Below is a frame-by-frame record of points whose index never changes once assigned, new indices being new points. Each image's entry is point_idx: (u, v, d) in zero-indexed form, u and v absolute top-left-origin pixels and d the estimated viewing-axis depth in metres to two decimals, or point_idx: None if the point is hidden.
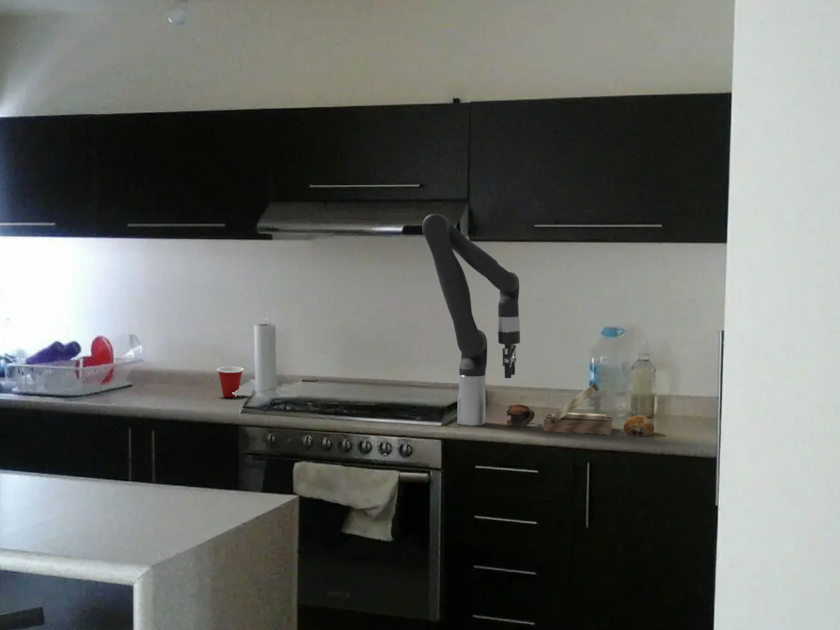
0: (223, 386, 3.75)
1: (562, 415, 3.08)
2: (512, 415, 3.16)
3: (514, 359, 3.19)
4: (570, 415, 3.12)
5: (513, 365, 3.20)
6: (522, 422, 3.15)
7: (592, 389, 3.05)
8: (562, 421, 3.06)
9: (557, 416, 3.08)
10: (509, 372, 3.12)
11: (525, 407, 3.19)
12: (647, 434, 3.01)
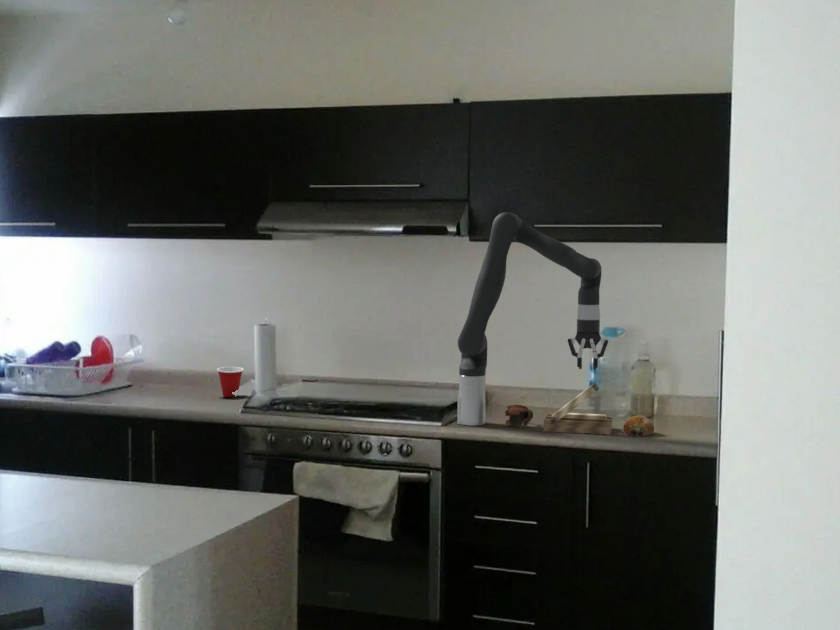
0: (223, 386, 3.75)
1: (562, 415, 3.08)
2: (511, 415, 3.16)
3: None
4: (570, 415, 3.12)
5: None
6: (521, 422, 3.15)
7: (592, 389, 3.05)
8: (562, 421, 3.06)
9: (557, 416, 3.08)
10: None
11: (523, 407, 3.18)
12: (647, 434, 3.01)
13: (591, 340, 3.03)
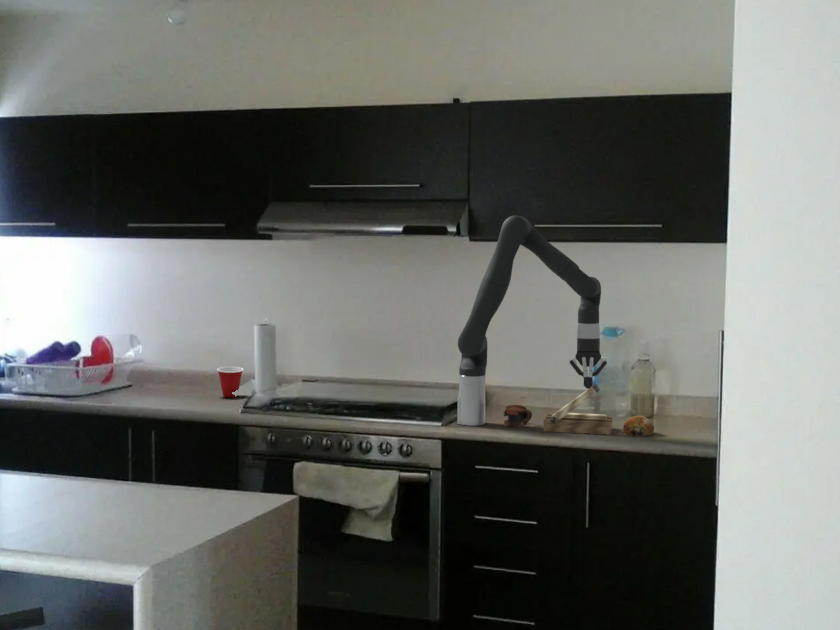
0: (223, 386, 3.75)
1: (562, 415, 3.08)
2: (509, 415, 3.16)
3: None
4: (570, 415, 3.12)
5: None
6: (519, 422, 3.15)
7: (592, 390, 3.05)
8: (562, 421, 3.06)
9: (557, 416, 3.08)
10: None
11: (522, 407, 3.18)
12: (647, 434, 3.01)
13: (591, 359, 3.04)
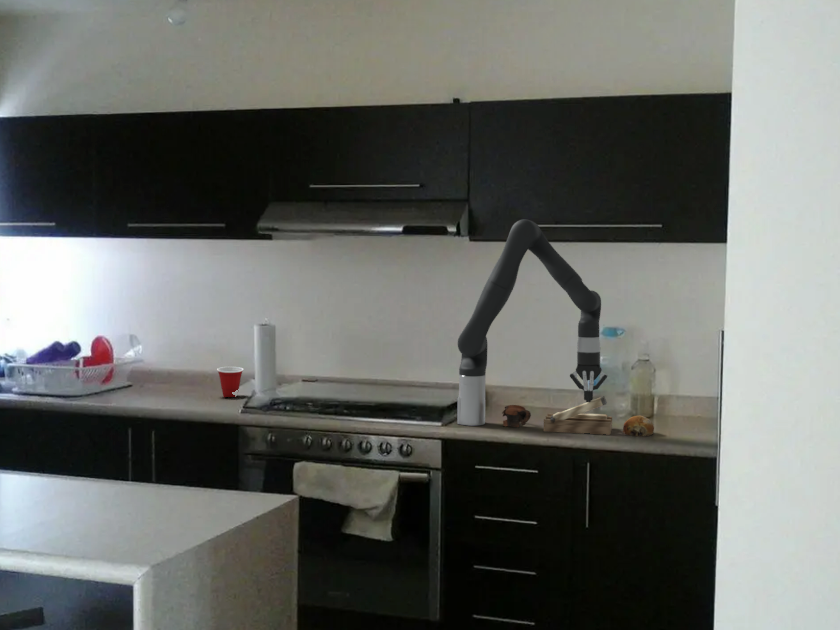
0: (223, 386, 3.75)
1: (563, 418, 3.08)
2: (508, 415, 3.16)
3: (587, 382, 3.08)
4: None
5: None
6: (518, 422, 3.15)
7: (599, 402, 3.04)
8: (562, 421, 3.06)
9: (558, 417, 3.08)
10: None
11: (521, 407, 3.18)
12: (647, 434, 3.01)
13: (592, 372, 3.04)
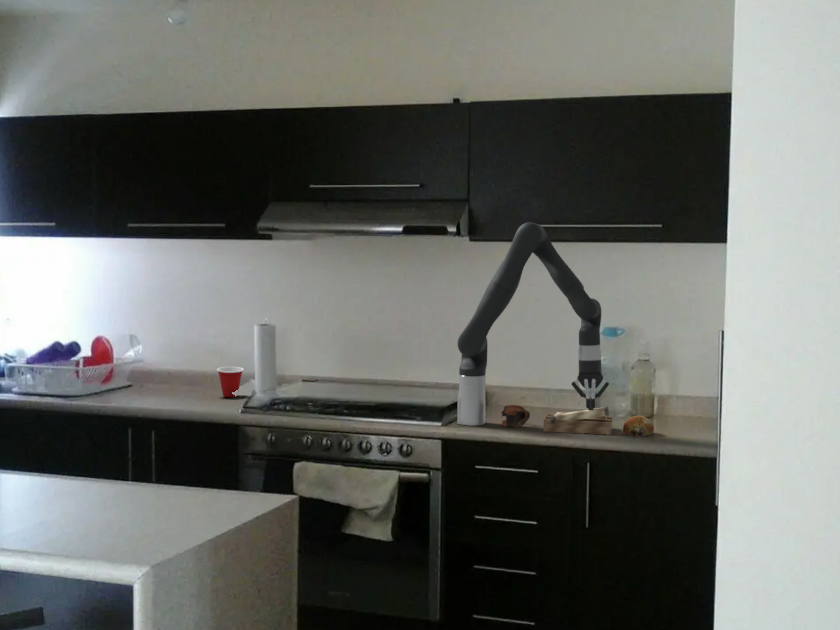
0: (223, 386, 3.75)
1: None
2: (507, 415, 3.15)
3: (589, 390, 3.08)
4: None
5: (590, 399, 3.07)
6: (517, 422, 3.14)
7: (602, 411, 3.04)
8: (562, 421, 3.06)
9: (558, 418, 3.08)
10: None
11: (520, 407, 3.18)
12: (647, 434, 3.01)
13: (593, 380, 3.04)
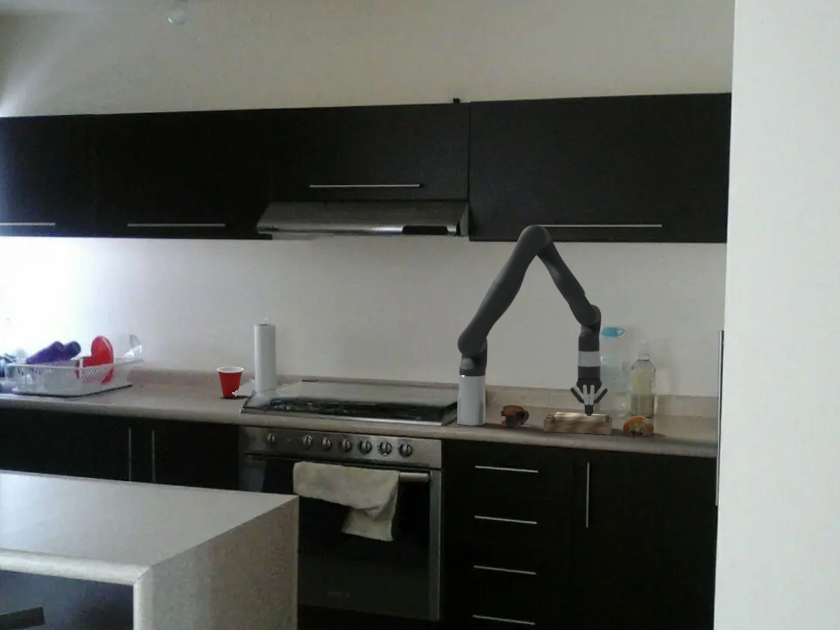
0: (223, 386, 3.75)
1: None
2: (506, 416, 3.15)
3: None
4: None
5: None
6: (517, 423, 3.14)
7: (603, 419, 3.04)
8: (562, 421, 3.06)
9: (558, 419, 3.08)
10: None
11: (519, 407, 3.18)
12: (647, 434, 3.01)
13: (592, 386, 3.04)
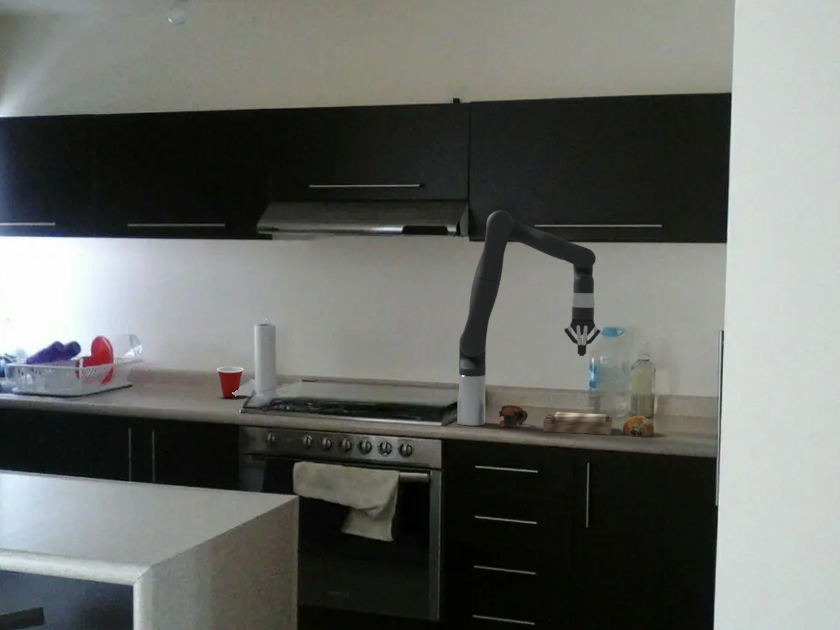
0: (223, 386, 3.75)
1: None
2: (505, 416, 3.15)
3: (581, 337, 3.19)
4: None
5: None
6: (515, 423, 3.14)
7: (603, 419, 3.04)
8: (562, 421, 3.06)
9: (558, 419, 3.08)
10: None
11: (518, 408, 3.17)
12: (646, 434, 3.00)
13: (585, 327, 3.15)
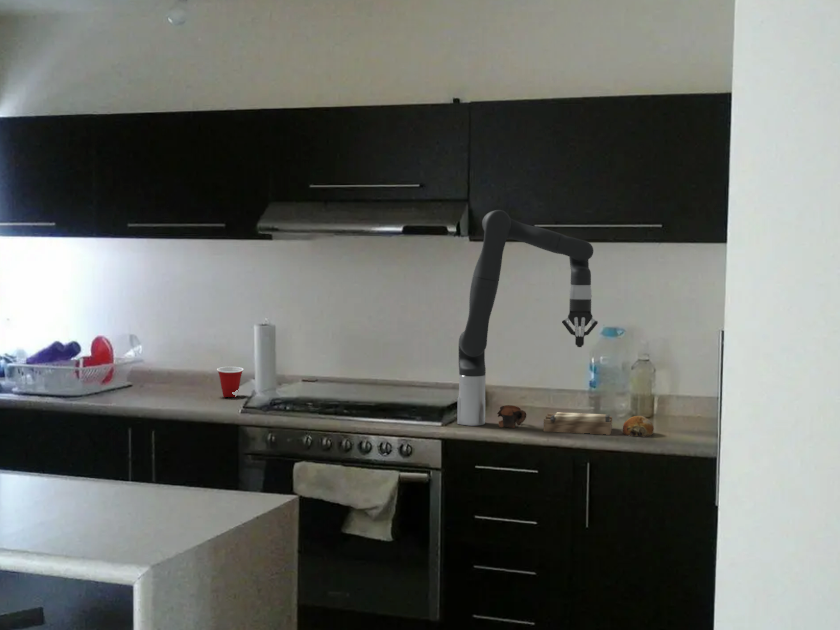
0: (223, 386, 3.75)
1: None
2: (504, 416, 3.15)
3: None
4: None
5: None
6: (514, 423, 3.14)
7: (603, 419, 3.04)
8: (562, 421, 3.06)
9: (558, 419, 3.08)
10: None
11: (516, 408, 3.17)
12: (646, 434, 3.00)
13: (583, 319, 3.19)
